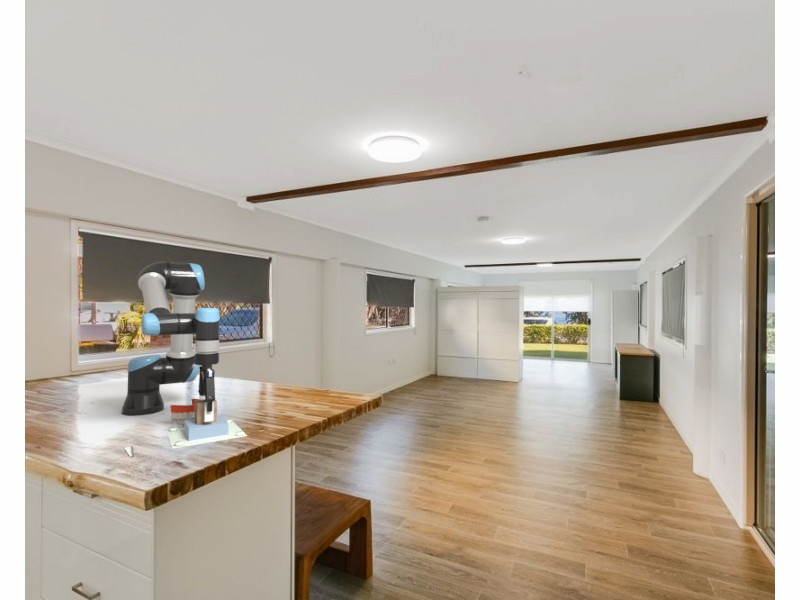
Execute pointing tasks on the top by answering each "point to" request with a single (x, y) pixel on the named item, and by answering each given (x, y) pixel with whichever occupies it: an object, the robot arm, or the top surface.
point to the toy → (182, 412)
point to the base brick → (205, 429)
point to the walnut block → (200, 412)
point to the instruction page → (129, 451)
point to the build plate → (180, 439)
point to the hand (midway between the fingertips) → (206, 417)
